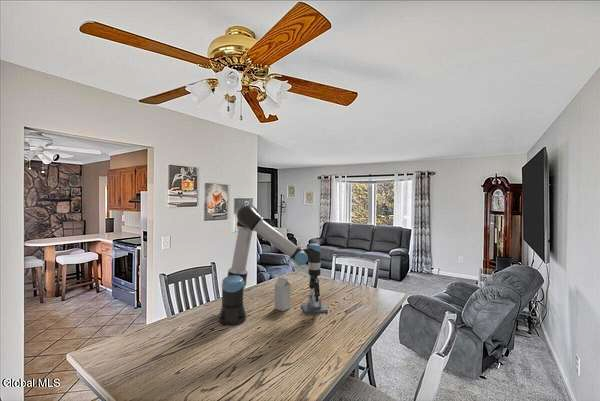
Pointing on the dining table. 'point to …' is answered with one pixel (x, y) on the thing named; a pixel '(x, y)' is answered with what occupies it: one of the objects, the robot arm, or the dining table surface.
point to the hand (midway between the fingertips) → (314, 302)
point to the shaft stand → (314, 310)
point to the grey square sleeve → (311, 302)
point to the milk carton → (282, 294)
